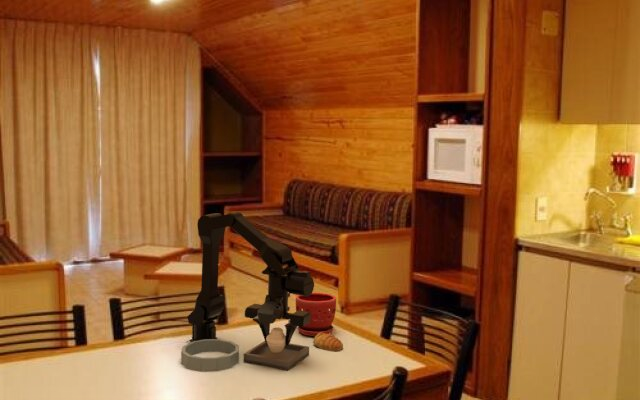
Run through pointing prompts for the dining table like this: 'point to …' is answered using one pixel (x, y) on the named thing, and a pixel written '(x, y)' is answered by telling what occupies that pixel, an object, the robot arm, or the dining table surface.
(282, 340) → the muffin
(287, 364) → the tray
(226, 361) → the grey polygonal ring
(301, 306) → the plant pot
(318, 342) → the pastry
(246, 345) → the dining table surface
